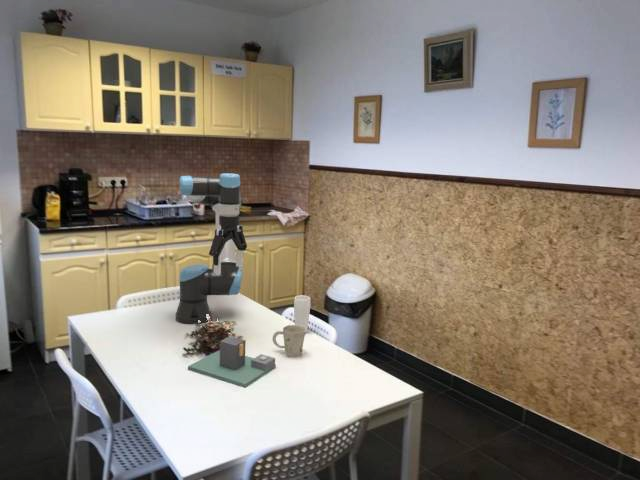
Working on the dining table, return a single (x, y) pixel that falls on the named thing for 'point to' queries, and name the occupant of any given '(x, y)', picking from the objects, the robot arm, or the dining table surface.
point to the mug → (291, 339)
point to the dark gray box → (232, 353)
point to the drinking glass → (302, 311)
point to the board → (241, 376)
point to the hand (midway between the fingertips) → (228, 270)
